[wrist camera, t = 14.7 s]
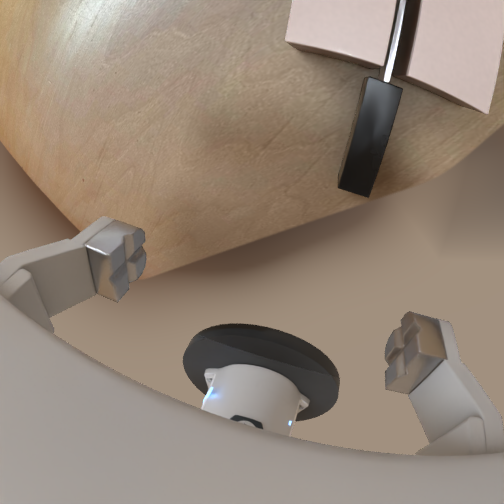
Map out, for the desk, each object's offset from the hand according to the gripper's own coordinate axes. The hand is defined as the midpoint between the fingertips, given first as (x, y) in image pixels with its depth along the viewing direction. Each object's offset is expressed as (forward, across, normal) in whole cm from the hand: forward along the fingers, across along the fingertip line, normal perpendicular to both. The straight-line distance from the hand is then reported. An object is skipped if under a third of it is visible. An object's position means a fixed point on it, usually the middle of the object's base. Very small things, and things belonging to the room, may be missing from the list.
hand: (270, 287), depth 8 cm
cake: (+18, -4, -15) cm, 24 cm away
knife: (+18, -4, -9) cm, 21 cm away
